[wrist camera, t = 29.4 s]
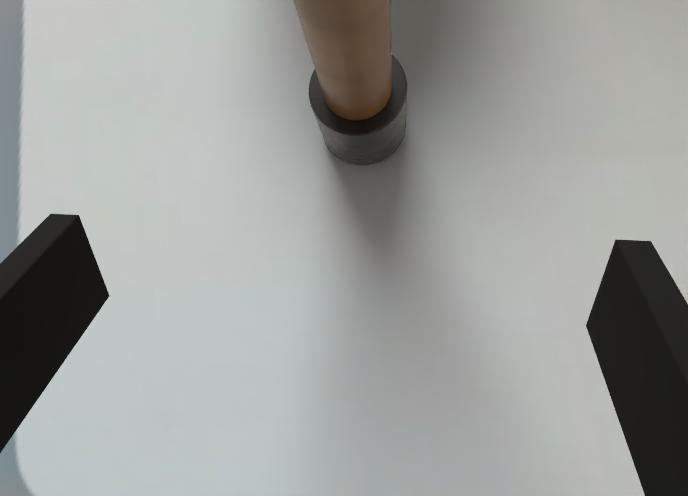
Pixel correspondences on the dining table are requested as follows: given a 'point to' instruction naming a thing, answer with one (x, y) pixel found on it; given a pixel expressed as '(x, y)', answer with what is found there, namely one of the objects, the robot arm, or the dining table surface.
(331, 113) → the brush
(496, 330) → the dining table surface
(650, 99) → the dining table surface
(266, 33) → the dining table surface
